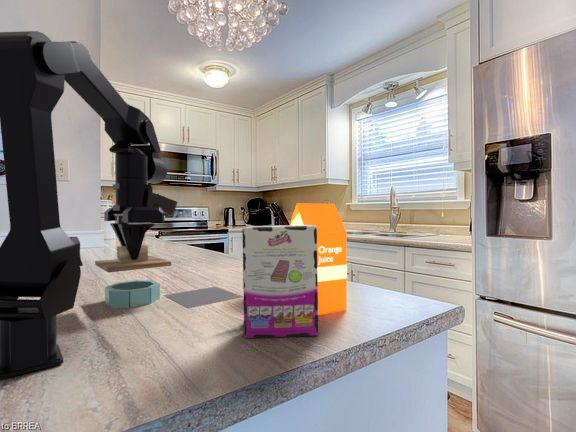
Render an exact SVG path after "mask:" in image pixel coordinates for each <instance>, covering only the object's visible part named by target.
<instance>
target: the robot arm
mask: <svg viewBox="0 0 576 432" xmlns="http://www.w3.org/2000/svg"><path fill="white" fill-rule="evenodd" d="M65 82H66V83H67V84H68V85H69V87H71V89H72V90H74V92H75V93H77V95H78V96H79V97H81V98H82V100H83V101H84V102H85V103H86V104H87V105H88V106H89V107H90V108H91V109H92V110H94V112H95V113H96V114H97V115H98V116H99V117H100V118H101V119H102V121H103V122H104V132H105V133H106V134H107V135H108V137H109V138H110V139H111V141H112V142H113V143H114V144H113V145H111V146H110V148H109V149H108V150H109V152H110V153H113V154H114V155H115V157H114V158H115V159H114V160H115V161H114V162H115V163H114V164H115V166H114V167H115V168H114V169H115V171H114V172H115V173H114V174H115V183H113V184H112V190H115V205H112V207H108V208H107V209H106V210H105V211H104V212H103V215H104V216H103V217H104V220H103V221H104V222H110V223H109V225H110V226H111V228H112V230H113V232H114V234H115V237H116V238H117V240H118V242H119V243H120V244H119V245H120V246H126V247H127V250H128V252H129V255H130V257H131V259H132V260H136V259H138V256H139V253H140V249H141V246H142V245H143V242H144V240H145V235H146V233H147V232H148V231H149V230H150V229H151V228H152V227H155V225H156V223H165V217H169V216H170V217H173V216H174V214H175V212H176V208H177V206H178V201H177V200H174V199H172V198H169V197H166V196H165V195H160V193H155V192H153V189H154V188H153V186H152V184H154V185H155V184H160V183H162V182H163V181H164V180H166V178H167V176H168V168H167V165H166V163H165V162H164V161H162V159H160V158H159V154H161V152H162V151H161V147H160V143H159V141H158V136H157V134H156V130H155V127H154V124H153V122H152V120H150V117H149V116H148V115H146V113H144V112H143V111H142V110H141V109H139V108H137V107H135V106H133V105H131V104H128V103H127V102H126V101H125V99H124V98H123V97H122V96H121V95H120V94H119V92H118V91H117V90H116V88H115V87H114V86H113V84H111V82H110V81H109V80H108V78H107V77H106V76H105V75H104V74H103V73H102V71H101V70H100V68H99V67H98V66H97V65H96V63H95V62H94V61H93V59H92V58H91V55H90V51H89V50H88V48H87V47H86V46H85V45H84V44H83V43H80V42H78V41H75V40H74V41H73V40H72V41H71V40H70V41H52V40H51V38H50V37H49V36H47V35H46V34H45V33H43V32H41V31H38V30H26V31H25V30H21V31H0V133H1V144H2V154H3V155H2V156H3V164H4V175H5V187H6V195H7V197H6V198H7V206H8V215H9V225H10V228H9V231H8V233H7V235H6V237H5V238H4V240H3V242H1V244H0V380H3V379H7V378H10V377H11V378H12V377H16V376H19V375H22V374H26V373H30V372H35V371H39V370H42V369H47V368H50V367H55V366H59V365H61V364H63V363H64V357H63V354H62V352H61V349H60V346H59V344H57V315H60V314H62V313H64V312H67V311H69V310H73V308H74V306H75V303H76V298H77V295H78V289H79V284H80V281H81V277H82V272H81V271H82V270H81V269H82V268H81V267H83V266H84V264H83V261H82V257H81V242H80V240H79V237H78V236H69V235H68V234H67V233H66V232H65V230H64V229H63V228H62V227H61V222H60V210H59V197H58V196H59V195H58V184H57V173H56V172H57V171H56V170H57V169H56V161H55V147H54V146H55V145H54V136H53V122H52V112H53V111H54V110H55V107H56V106H57V104H58V102H59V101H60V99H61V97H62V96H63V94H64V92H65ZM113 221H114V222H113ZM111 222H113V223H111ZM20 298H21V299H20ZM22 298H39V299H22Z"/></svg>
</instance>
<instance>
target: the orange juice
mask: <svg viewBox="0 0 576 432" xmlns="http://www.w3.org/2000/svg"><path fill="white" fill-rule="evenodd" d="M294 208H295V209H294V211H293V214H292V216H291V220H290V223H289V225H314V226H317V271H318V275H317V277H318V316H320V315H327V314H332V313H338V312H343V311H344V312H345V311H347V310H348V309H347V307H348V303H347V301H348V300H347V298H348V296H347V294H348V293H347V292H348V291H347V289H348V285H347V282H348V281H347V278H348V263H347V262H348V261H347V260H348V259H347V258H348V257H347V256H348V254H347V253H348V252H347V251H348V250H347V248H348V246H347V242H348V240H347V237H348V235H347V234H348V233H347V231H346V228H345V226H344V223H343V221H342V218H341V217H340V214H339V211H338V209H337V206H336V204H335V203H299V202H298V203H296V205H295V207H294Z"/></svg>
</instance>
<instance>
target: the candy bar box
mask: <svg viewBox="0 0 576 432" xmlns="http://www.w3.org/2000/svg"><path fill="white" fill-rule="evenodd" d="M242 274H243V278H242V281H243V282H242V283H243V284H242V286H243V288H242V289H243V337H244V339H263V338H265V339H267V338H271V339H272V338H292V337H293V338H295V337H311V336H312V337H315V336H318V335H319V315H318V277H317V275H318V271H317V226H314V225H290V224H289V225H288V224H287V225H284V224H283V225H251V226H250V225H249V226H248V225H247V226H244V227H243V228H242Z"/></svg>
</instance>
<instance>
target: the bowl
mask: <svg viewBox="0 0 576 432" xmlns="http://www.w3.org/2000/svg"><path fill="white" fill-rule="evenodd" d="M160 286H161V283H160V282H158V281H156V280H148V279H146V280H145V279H144V280H143V279H141V280H140V279H138V280H135V279H134V280H129V281H120V282H115V283H113V284H110V285H107V286H105V287H104V303H105V305H106V306H107V307H109V308H119V309H120V308H121V309H122V308H123V309H125V308H127V309H128V308H131V309H132V308H136V307H143V306H147V305H150V304H151V305H152V304H153V303H155V302H156V301H159V300H160V299H161V287H160Z"/></svg>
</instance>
